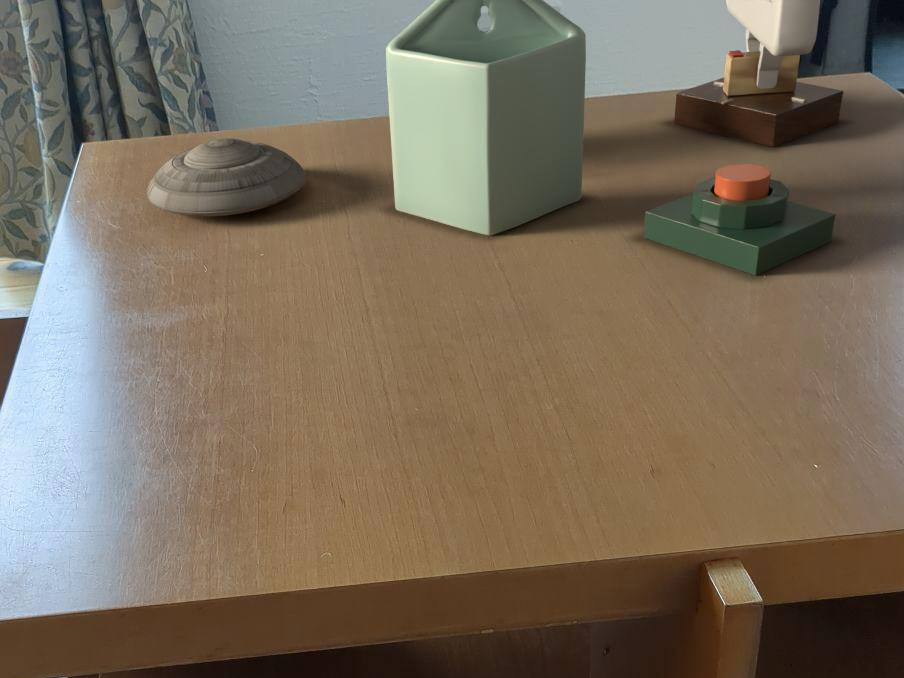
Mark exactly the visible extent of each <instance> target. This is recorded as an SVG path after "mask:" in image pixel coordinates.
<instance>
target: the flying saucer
mask: <svg viewBox="0 0 904 678" xmlns="http://www.w3.org/2000/svg"><path fill="white" fill-rule="evenodd" d="M307 177H308V176H307V173H306V171H305V169H304V168H303V167H302V166H301V164H300V163H299V162H298V161H297V160H296V159H295V158H293V157H292V156H291V155H289V154H288V153H287V152H285V151H283V150H281V149H279V148H277V147H275V146H271V145H269V144H266V143H262V142H258V141H250V140H243V139H239V138H227V137H226V138H217V139H216V138H215V139H211V140H208V141H205V142H203V143H201V144H198V145H197V146H195V147H191V148H189V149H186V150H184V151H182V152H180V153H178V154H176V155H175V156H173V157H172V158H171V159H169V160H168V161H167V162H165V163H163V165H162V166H161V167H160V168H159V169H158V170H157V171H156V173H155V174H154V176H152V179H151V180H150V182H149V184H148V187H147V188H146V192H145V194H146V195H145V197H146V200H147V201H148V202H149V203H151V205H153V206H154V207H156V208H158V209H160V210H162V211H165V212H168V213H172V214H176V215H181V216H188V217H190V216H191V217H223V216H231V215H240V214H244V213H250V212H254V211H258V210H261V209H265V208H267V207H270V206H274V205H276V204H278V203H281V202H282V201H283V202H284V201H285V200H286V199H288V198H290V197H291V196H293V195H294V194H296V193H298V191H300V190H301V189H302V187H303V186H304V185H305V184H306V182H307V180H308V179H307Z"/></svg>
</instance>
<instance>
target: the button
mask: <svg viewBox="0 0 904 678" xmlns="http://www.w3.org/2000/svg"><path fill="white" fill-rule="evenodd" d="M771 175H772V173H771V170H770V169H769V168H767V167H766V166H765V167H764V166H762V165H757V164H750V163H736V164H729V165H725V166H722V167H719V168H718V169H717V170H716V171H715V177H716V178H715V188H714V195H715V196H716V197H720V198H723V199H727V200H740V201H748V200H757V199H762V198H765V197H767V196H768V191H769V184H770V179H771Z"/></svg>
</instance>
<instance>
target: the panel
mask: <svg viewBox="0 0 904 678" xmlns="http://www.w3.org/2000/svg"><path fill="white" fill-rule="evenodd" d="M723 85H724V77H722V78H718V79H715V80H712V81H709V82H705V83H702V84H699V85H697V86H694V87H691V88H686V89H685V90H682V91H678V92H676V96H675V108H674V121H673V123H674V124H675V125H679V126H683V127H688V128H692V129H695V130H700V131H704V132H709V133H713V134H717V135H721V136H725V137H729V138H732V139H738V140H740V141H741V140H742V141H746V142H749V143H754V144H758V145H762V146H766V147H770V148H774V147H777V146H779V145H782V144H785V143H788V142H790V141H794V140H795V139H798V138H800V137H803V136H806V135H809V134H811V133H814V132H816V131H820V130H822V129H824V128H827V127H830V126H832V125H835V124H837V123H839V122H840V115H841V109H842V103H843V96H844V90H841V89H837V88H831V87H826V86H820V85H815V84H810V83H806V82H801V81H797V82H796V89H795V91H792V92H778V93H764V94H749V95H735V96H727V95H726V94H725V92H724V91H723Z"/></svg>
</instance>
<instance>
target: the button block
mask: <svg viewBox="0 0 904 678" xmlns="http://www.w3.org/2000/svg"><path fill="white" fill-rule="evenodd" d="M715 178H716V176H714V177H712V178H709V179H706V180H703V181H700V182H698V183H697V184H696V185H695V188H694V190H693V192H692V193H690V194H687V195H684V196H681V197H679V198H677V199H674V200H672V201H668V202H667V203H664V204H661V205H658V206H656V207H653V208H650V209H648V210H646V211H645V213H644V214H645V215H644V226H643V227H644V228H643V239H646V240H648V241H652V242H655V243H658V244H661V245H664V246H667V247H669V248H673V249H676V250H678V251H680V252H681V251H682V252H684V253H688V254H689V255H694V256H697V257H698V258H699V257H700V258H702V259H705V260H708V261H712V262H714V263H717V264H720V265H723V266H727V267H728V268H732V269H735V270H737V271H741V272H743V273H747V274H749V275H753V276H758V275H760V274H762V273H765V272H766V271H769V270H771V269H774V268H775V267H778V266H780V265H782V264H784V263H787V262H789V261H791V260H793V259H795V258H798V257H800V256H802V255H804V254H807V253H808V252H811V251H813V250H815V249H818V248H820V247H822V246H825V245H827V244H829V243H831V242H832V238H833V232H834V227H835V219H836V213H833V212H829V211H825V210H822V209H818V208H816V207H815V208H814V207H811V206H807V205H803V204H800V203H797V202H792V201H789V196H790V188H789V187H788V186H786V184H784V183H782V182H781V181H780V180H776V179H773V178H770V184H769V191H768V196H767V197H765V198H762V199H757V200H748V201H740V200H727V199H723V198H720V197H716V196H715V195H714V188H715Z"/></svg>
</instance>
